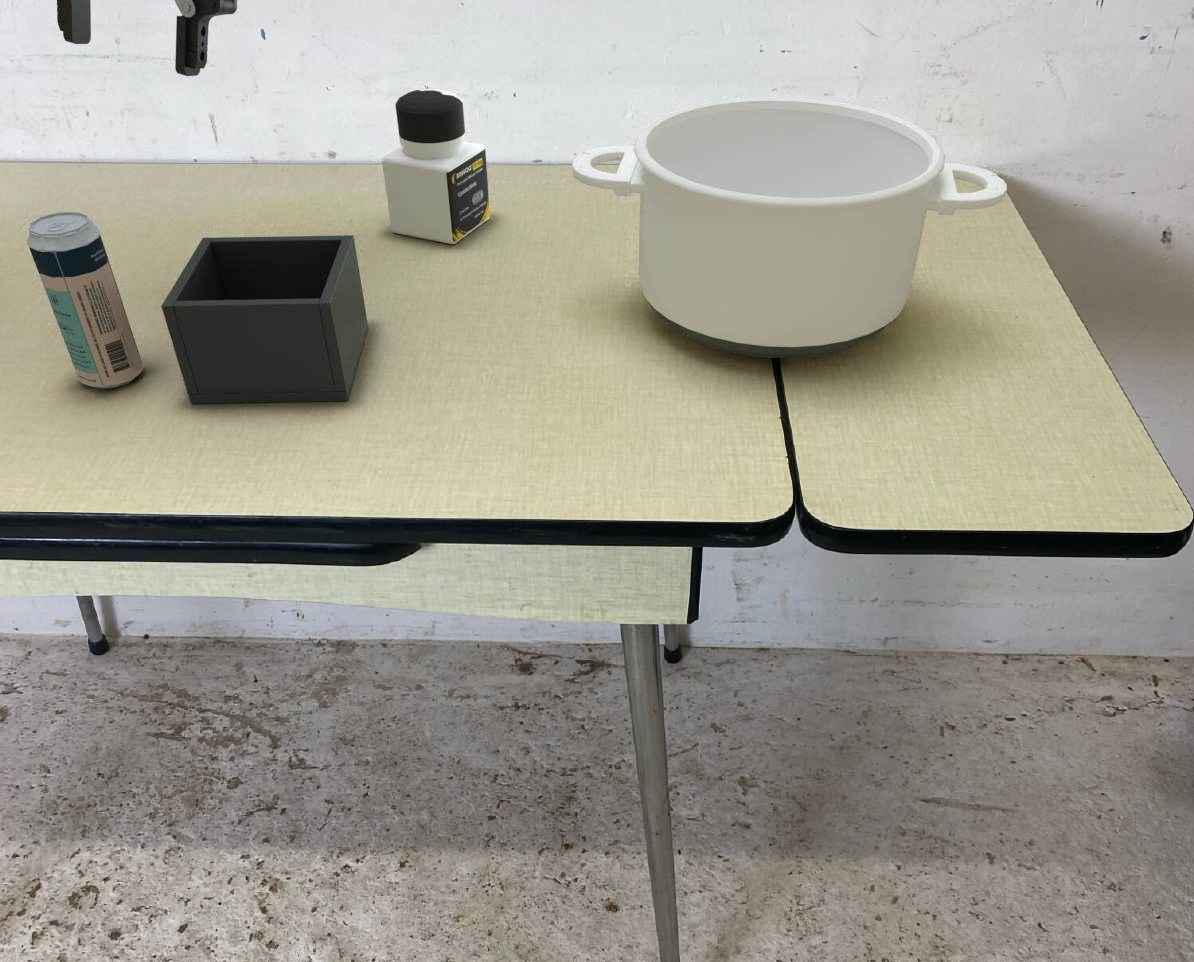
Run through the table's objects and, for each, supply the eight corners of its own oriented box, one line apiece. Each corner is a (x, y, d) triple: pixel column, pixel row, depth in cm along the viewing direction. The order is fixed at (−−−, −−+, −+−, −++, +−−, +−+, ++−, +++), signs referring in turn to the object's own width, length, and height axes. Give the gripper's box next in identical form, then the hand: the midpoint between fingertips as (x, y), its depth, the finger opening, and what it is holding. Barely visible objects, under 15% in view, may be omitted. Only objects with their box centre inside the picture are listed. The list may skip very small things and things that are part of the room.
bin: (190, 404, 77) (160, 305, 72) (226, 330, 86) (202, 237, 81) (348, 401, 77) (329, 302, 72) (368, 327, 86) (353, 234, 81)
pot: (958, 264, 95) (996, 104, 85) (986, 397, 77) (1038, 215, 68) (597, 241, 99) (596, 86, 90) (548, 362, 82) (541, 186, 73)
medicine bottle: (454, 246, 98) (441, 111, 90) (390, 233, 100) (372, 100, 92) (491, 218, 103) (482, 88, 95) (429, 207, 105) (415, 79, 97)
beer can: (152, 360, 82) (104, 208, 74) (136, 391, 79) (83, 235, 71) (90, 362, 82) (35, 210, 74) (71, 393, 78) (11, 237, 70)
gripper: (265, -179, 70) (249, 83, 78) (67, -234, 71) (72, 31, 79) (208, -200, 63) (197, 88, 72) (-9, -260, 64) (5, 32, 72)
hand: (132, 58), depth 75 cm, fingers open, 8 cm apart
